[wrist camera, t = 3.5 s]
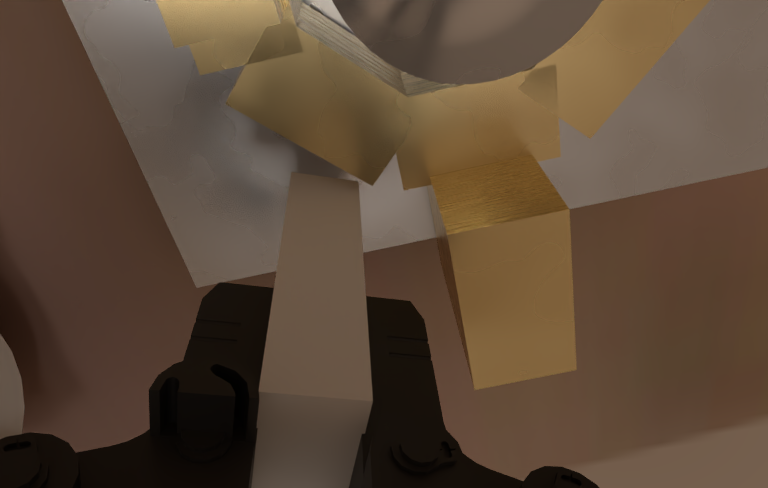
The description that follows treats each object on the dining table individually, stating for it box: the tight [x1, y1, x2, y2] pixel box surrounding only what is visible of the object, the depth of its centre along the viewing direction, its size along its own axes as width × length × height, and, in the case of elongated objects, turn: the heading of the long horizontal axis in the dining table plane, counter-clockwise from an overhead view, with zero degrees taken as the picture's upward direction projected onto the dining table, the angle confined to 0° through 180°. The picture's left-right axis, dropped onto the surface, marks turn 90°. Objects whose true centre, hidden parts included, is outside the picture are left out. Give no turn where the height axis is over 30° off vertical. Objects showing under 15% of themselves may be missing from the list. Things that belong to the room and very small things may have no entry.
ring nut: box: [156, 0, 710, 390], centre depth 11 cm, size 14×10×5 cm
